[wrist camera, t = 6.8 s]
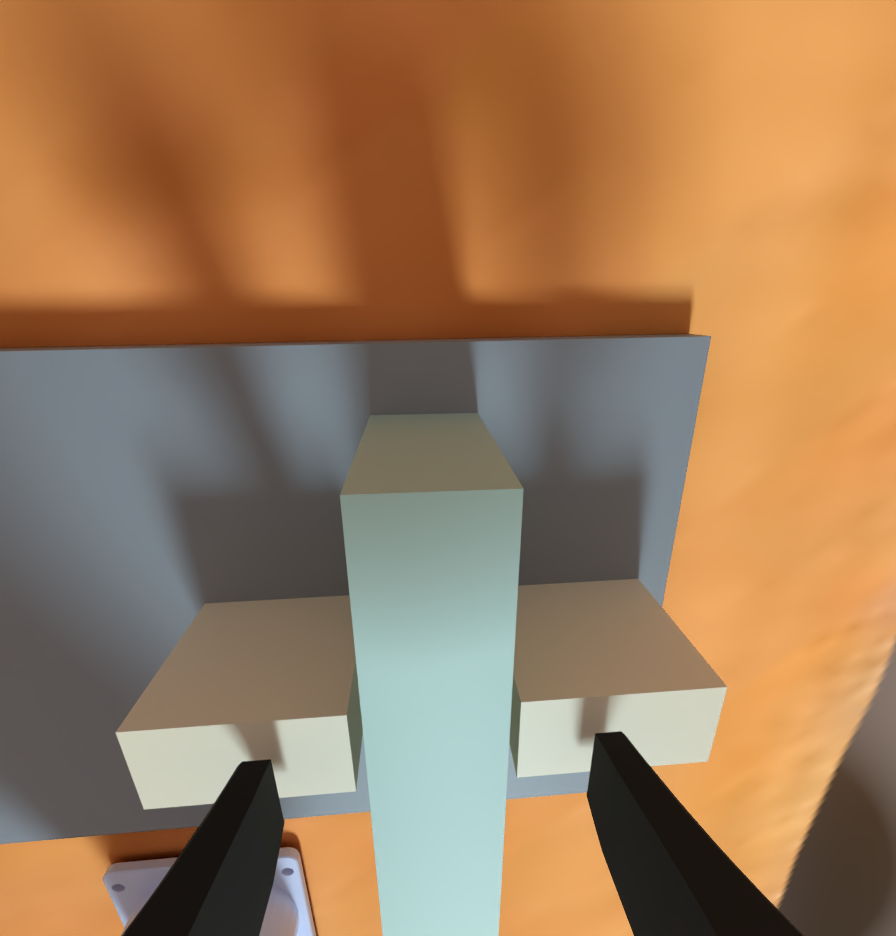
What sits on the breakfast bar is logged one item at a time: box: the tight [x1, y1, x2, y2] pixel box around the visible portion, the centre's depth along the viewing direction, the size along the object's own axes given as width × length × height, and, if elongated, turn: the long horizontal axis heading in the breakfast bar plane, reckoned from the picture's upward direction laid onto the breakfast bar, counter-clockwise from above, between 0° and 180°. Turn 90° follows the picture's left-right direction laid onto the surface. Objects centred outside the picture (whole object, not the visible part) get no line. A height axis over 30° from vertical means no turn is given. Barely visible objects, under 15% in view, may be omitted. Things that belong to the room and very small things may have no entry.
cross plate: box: [340, 413, 524, 936], centre depth 12 cm, size 14×3×6 cm, turn 0°
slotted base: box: [0, 334, 727, 844], centre depth 13 cm, size 18×26×6 cm
